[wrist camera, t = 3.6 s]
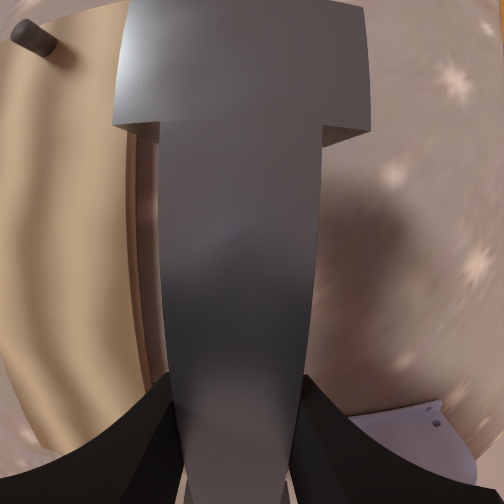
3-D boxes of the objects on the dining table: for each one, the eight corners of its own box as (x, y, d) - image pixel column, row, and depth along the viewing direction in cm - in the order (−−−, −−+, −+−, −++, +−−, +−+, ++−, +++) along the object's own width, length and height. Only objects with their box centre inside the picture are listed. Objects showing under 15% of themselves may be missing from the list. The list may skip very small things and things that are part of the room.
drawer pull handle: (324, 58, 8) (363, 7, 5) (281, 505, 13) (287, 552, 9) (164, 54, 8) (130, 1, 4) (192, 504, 13) (187, 551, 9)
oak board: (151, 9, 13) (129, -31, 8) (169, 464, 20) (160, 506, 15) (3, 52, 12) (-35, 36, 8) (48, 437, 19) (28, 468, 15)
